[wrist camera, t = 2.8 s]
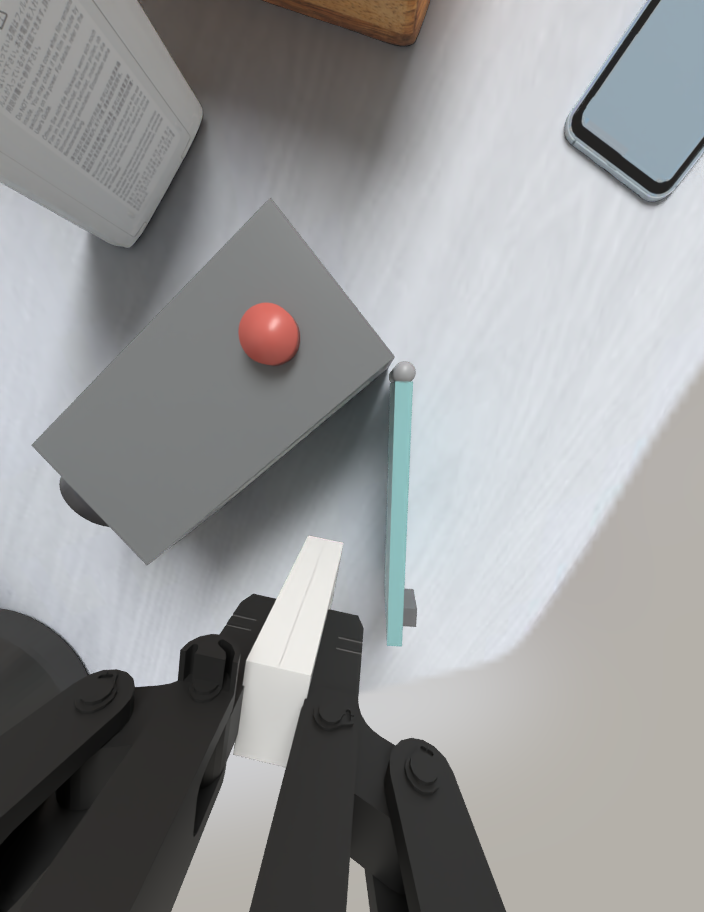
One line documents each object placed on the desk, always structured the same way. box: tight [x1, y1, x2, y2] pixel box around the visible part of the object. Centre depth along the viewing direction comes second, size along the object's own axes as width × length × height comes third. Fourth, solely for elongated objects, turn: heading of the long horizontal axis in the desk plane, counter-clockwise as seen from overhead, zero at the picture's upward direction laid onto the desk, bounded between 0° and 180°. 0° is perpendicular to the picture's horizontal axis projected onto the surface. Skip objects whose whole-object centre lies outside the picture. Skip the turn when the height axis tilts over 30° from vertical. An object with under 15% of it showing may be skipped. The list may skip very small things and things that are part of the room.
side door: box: [384, 361, 417, 646], centre depth 20 cm, size 15×2×6 cm, turn 0°
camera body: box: [32, 198, 395, 565], centre depth 19 cm, size 19×8×9 cm, turn 130°
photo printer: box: [0, 0, 203, 248], centre depth 15 cm, size 10×4×12 cm, turn 143°
